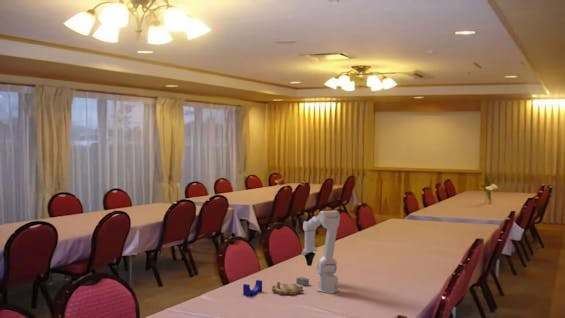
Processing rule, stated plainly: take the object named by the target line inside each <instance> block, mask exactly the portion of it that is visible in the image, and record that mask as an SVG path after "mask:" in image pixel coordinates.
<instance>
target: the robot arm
mask: <svg viewBox="0 0 565 318" xmlns="http://www.w3.org/2000/svg"><path fill="white" fill-rule="evenodd" d="M340 220H341V215H340V212H339V211H338V210H320V212H318V215H317V216H316V215H315V216H314V215H313V216H312V218H310V219H309V220H308V221H305V220H304V221H303V224H302V229H303V231H304V248H303V249H302V251H301V256H304V259H305V261H306V264H307V265H306V266H308V267H309V266H310V267H311V266H312V264H313V260H314V258H315V256H316V252H318V247H315V244H316V243H315V235H316V232H317V228H318V227H320V226H321V225H322V227H323V228H324V229H326V235H325V241H324V242H325V243H324V248H323V255H322V256H321V258H319V259H318V262H317V264H316V271H317V274H318V275H319V289H316V291H317V292H322V293H327V294H331V295H332V294H334V293H336V292H338V291H339V278H338V277H339V276H337V275H335V274H336V272H337V270H338V267H337V260H336V259H335V258H334V251H335V244H336V238H337V233H338V228H339V227H340Z"/></svg>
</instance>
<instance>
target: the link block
mask: <svg viewBox="0 0 565 318" xmlns="http://www.w3.org/2000/svg"><path fill="white" fill-rule="evenodd" d="M309 281H310V279H309V278H307V277H301V276H300V277H296V283H295V284H296V285H298V284H299V285H298V286H301V285H302V287H305V286H306V285H307V286H309V284H310V283H309Z"/></svg>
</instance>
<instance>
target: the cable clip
mask: <svg viewBox="0 0 565 318" xmlns="http://www.w3.org/2000/svg"><path fill="white" fill-rule="evenodd" d="M242 287H243V289H242V292H243V293H242V296H244V297H250V298H251V297H253V296H257V295H258V294H259V293H261V292H263V280H260V279H256V280H255V284H254V287H253V288H252V289H251V287H250V284H247V283H243V285H242Z"/></svg>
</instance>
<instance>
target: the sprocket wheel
mask: <svg viewBox="0 0 565 318" xmlns="http://www.w3.org/2000/svg"><path fill="white" fill-rule="evenodd" d="M303 288H304V286H301V285H298V284H296V283H289V284H288V283H287V284H286V283H281V281H276V285H275V284H274V285H272V287H271V292H272V293H276V292H277V293H276V294H278V295H282V294H290V295H289V296H291V294H293V295H295V294H294V293H297V294H299V293H300V294H301V293H303ZM298 292H299V293H298Z"/></svg>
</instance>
